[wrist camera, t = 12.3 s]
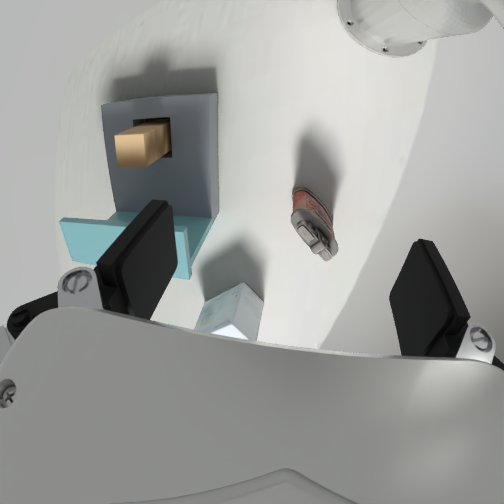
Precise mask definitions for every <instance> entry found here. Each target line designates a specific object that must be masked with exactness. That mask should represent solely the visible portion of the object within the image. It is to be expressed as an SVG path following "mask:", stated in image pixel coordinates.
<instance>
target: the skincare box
mask: <svg viewBox="0 0 504 504" xmlns="http://www.w3.org/2000/svg"><path fill="white" fill-rule="evenodd" d="M263 306H264V302H263V301H262V300H261V299H260V298H259V297H258V296H257V295H256V294H255V293H254V292H253V291H252V290H251V288H250V287H249V286H248V285H247V284H246V283H244V282H242V283H240V284H239V285H237V286H235V287H233V288H231V289H229V290H227V291H225V292H223V293H221V294H219V295H217V296H216V297H214V298H212V299H210V300H208V301H206V302H205V303H204V306H203V308H202V311H201V313H200V316H199V318H198V321H197V324H196V326H195V329H194V330H197V331H202V332H208V333H213V334H218V335H224V336H229V337H235V338H241V339H247V340H253V341H257V336H258V330H259V325H260V320H261V315H262V310H263Z"/></svg>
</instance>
